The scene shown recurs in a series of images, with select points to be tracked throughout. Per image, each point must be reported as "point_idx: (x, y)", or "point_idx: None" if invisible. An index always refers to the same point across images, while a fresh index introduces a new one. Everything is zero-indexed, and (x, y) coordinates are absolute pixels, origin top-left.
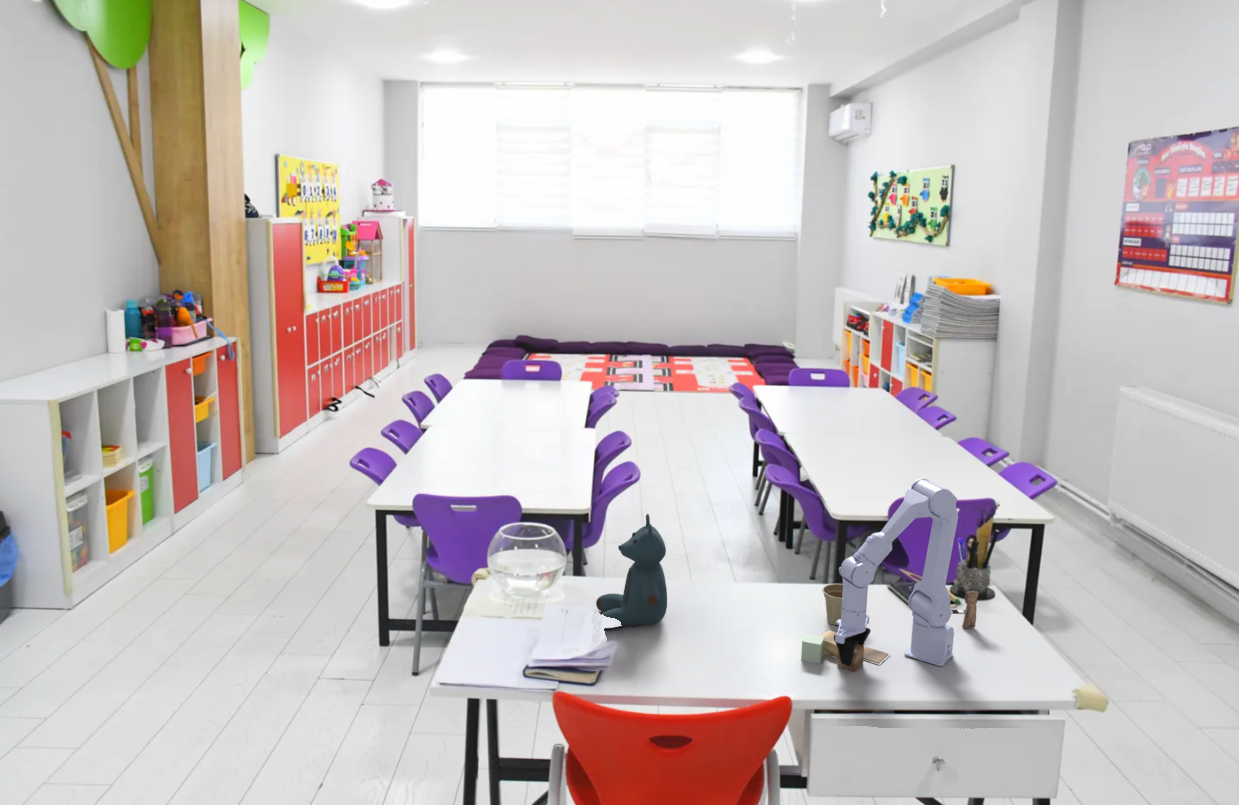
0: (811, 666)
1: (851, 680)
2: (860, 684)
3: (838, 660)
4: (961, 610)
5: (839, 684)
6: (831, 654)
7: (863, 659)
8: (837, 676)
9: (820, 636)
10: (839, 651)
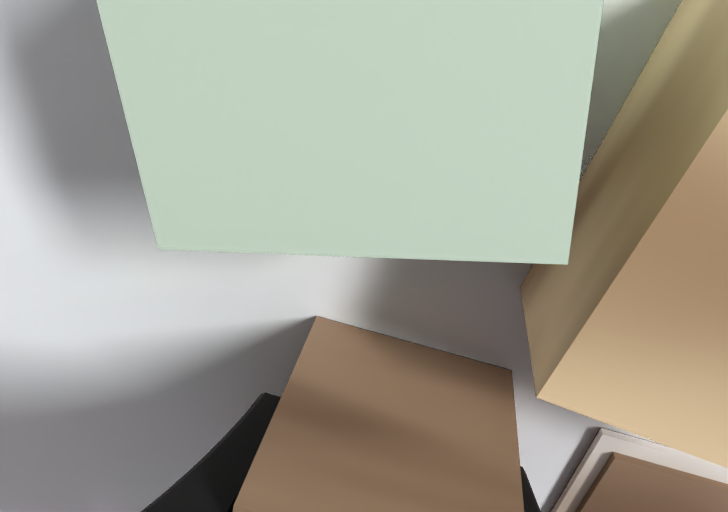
0: None
1: (142, 433)
2: (127, 485)
3: (294, 369)
4: None
5: (20, 362)
6: None
7: (557, 510)
8: (131, 336)
9: (569, 172)
10: (163, 498)
